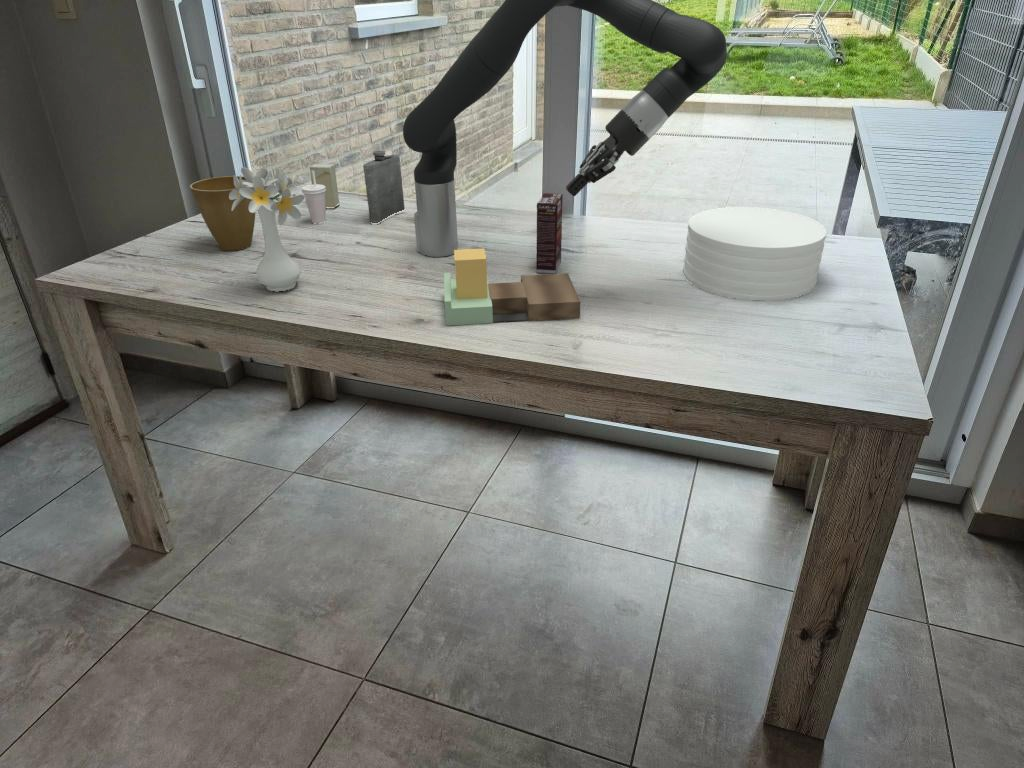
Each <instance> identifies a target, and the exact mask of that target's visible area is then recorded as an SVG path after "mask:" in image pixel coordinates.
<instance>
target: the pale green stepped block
mask: <svg viewBox="0 0 1024 768" xmlns="http://www.w3.org/2000/svg"><path fill="white" fill-rule="evenodd" d="M443 277H444V278H443V281H444V282H443V285H444V287H443V288H444V291H443V294H444V309H445V310H444V311H445V325H447V326H459V325H460V326H461V325H478V324H479V325H480V324H494V323H493V311H492V301H491V299H490V298H491V296H490V295H489V287H488V284H490V283H489V278H488V276H487V289H488V298H474V299H457V289H456V278H451V272H444V273H443Z"/></svg>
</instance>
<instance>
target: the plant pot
mask: <svg viewBox="0 0 1024 768" xmlns="http://www.w3.org/2000/svg"><path fill="white" fill-rule="evenodd" d="M236 176H237V178H238V180H239V176H240V175H236ZM233 178H234V175H226V176H217V177H211V178H205V179H201V180H198V181H195V182H193V183H191V184H190V185H189V188H190V190H191V193H192V197H193V198H194V200H195V203H196V204H195V205H196V206H197V208H198V211H199V212H200V213H199V214H200V215H201V217H202V219H203V220H204V222H205V224H206V227H207V228H208V230H209V232H210V234H211V235H212V237H213V239H214V241H215V242H216V243H217V245H218V246H219V248H220V250H223V251H228V252H229V251H232V252H233V251H241V249H242V250H244V248H245V249H247V247H248V248H250V247H251V246H252V242H253V237H254V235H253V234H254V231H255V223H256V222H255V221H256V212H255V213H251V212H249V204H250V202H251V201H252V199H248V198H245V197H244V198H243V199H242V200H241V201H240V202H239V203H238V205H237V206H236V207H235V209H234V210H233V211H232V210H231V209H232V205H233V203H234V201H235V200H237V199H234V200H230V199H229V194H230V192H231V191H232V190H238V189H237V188H236V187H235V185H234V181H233ZM241 178H242V180H246V179H245V177H244V176H243V175H241ZM246 181H247V180H246ZM244 188H246V187H244Z"/></svg>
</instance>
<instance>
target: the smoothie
mask: <svg viewBox="0 0 1024 768" xmlns="http://www.w3.org/2000/svg"><path fill="white" fill-rule="evenodd" d="M312 174H313V181H314V185H312V184H308V185H304V186H302V187H301V193H302V194H303V195H304V200H305V203H306V206H307V210H308V213H309V216H310V219H311V223H312V222H313V223H320V222H324V221H326V222H327V213H326V210H327V209H326V206H325V191H326V187H325V186H324V185H320V184H316V180H315V173H314V171H312ZM313 223H312V224H313Z"/></svg>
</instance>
